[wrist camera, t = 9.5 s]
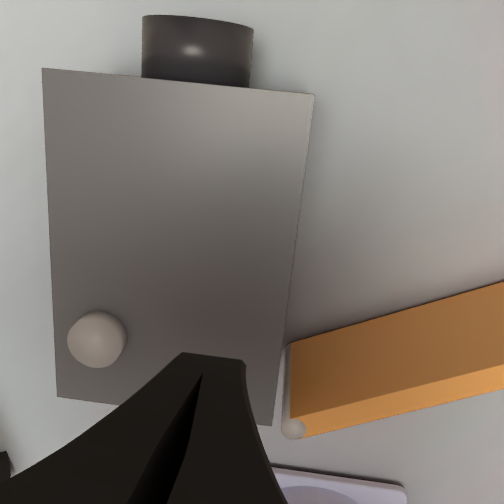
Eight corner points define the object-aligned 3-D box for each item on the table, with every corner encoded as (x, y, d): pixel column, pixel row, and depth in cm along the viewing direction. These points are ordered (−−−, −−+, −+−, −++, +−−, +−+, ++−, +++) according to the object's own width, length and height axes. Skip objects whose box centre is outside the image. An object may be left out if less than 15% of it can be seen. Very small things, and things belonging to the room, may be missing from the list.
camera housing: (277, 346, 20) (270, 439, 15) (112, 325, 20) (47, 408, 15) (316, 43, 16) (325, 20, 11) (112, 24, 16) (25, -7, 11)
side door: (293, 374, 20) (291, 457, 15) (282, 345, 20) (277, 422, 15) (704, 261, 17) (852, 322, 12) (699, 225, 17) (850, 275, 12)
